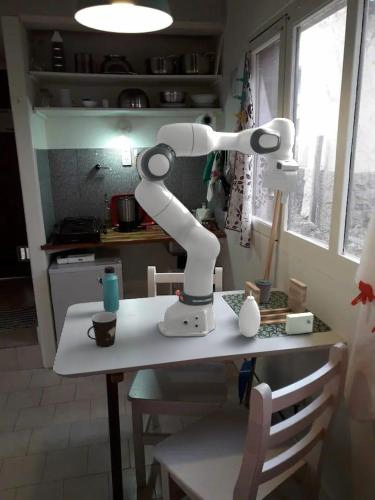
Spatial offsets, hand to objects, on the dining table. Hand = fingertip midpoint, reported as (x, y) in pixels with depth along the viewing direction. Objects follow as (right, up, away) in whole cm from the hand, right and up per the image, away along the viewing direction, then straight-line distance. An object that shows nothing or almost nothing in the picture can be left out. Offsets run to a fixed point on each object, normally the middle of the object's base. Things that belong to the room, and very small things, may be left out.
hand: (277, 201), depth 145 cm
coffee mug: (-64, -52, -11) cm, 83 cm away
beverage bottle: (-66, -45, +16) cm, 82 cm away
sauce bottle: (-11, -50, -4) cm, 52 cm away
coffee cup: (0, -42, +30) cm, 52 cm away
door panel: (+8, -50, 0) cm, 50 cm away
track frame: (+1, -47, +11) cm, 48 cm away
